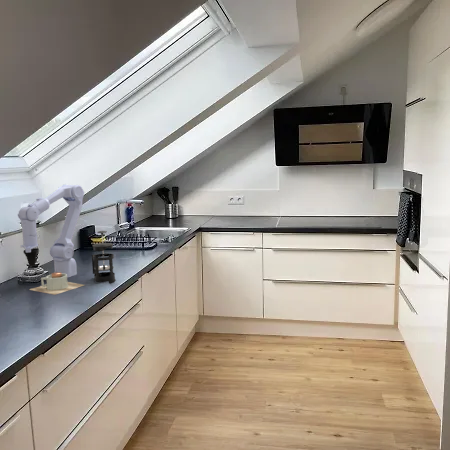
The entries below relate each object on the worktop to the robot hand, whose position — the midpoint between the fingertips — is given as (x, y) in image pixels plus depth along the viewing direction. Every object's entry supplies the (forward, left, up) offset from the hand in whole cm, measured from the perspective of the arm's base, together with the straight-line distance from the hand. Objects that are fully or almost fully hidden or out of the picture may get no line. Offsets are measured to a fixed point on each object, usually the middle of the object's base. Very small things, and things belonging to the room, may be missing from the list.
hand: (32, 265), depth 204 cm
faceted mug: (-2, +13, -8) cm, 16 cm away
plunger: (-2, +13, -8) cm, 15 cm away
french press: (-21, +21, -10) cm, 31 cm away
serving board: (-2, +13, -9) cm, 16 cm away
